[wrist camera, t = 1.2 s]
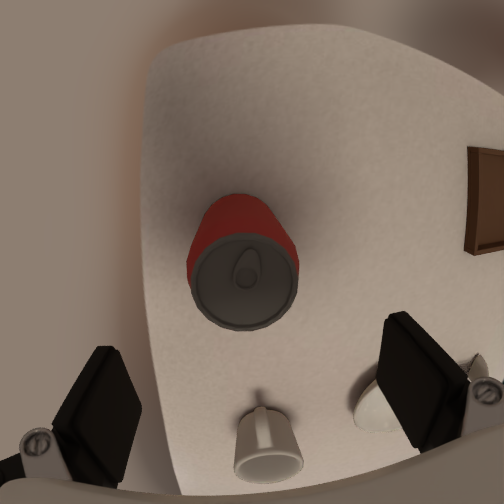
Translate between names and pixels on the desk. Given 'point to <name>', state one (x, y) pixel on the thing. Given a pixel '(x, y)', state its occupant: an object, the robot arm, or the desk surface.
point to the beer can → (242, 265)
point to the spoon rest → (379, 411)
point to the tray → (485, 201)
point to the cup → (266, 448)
